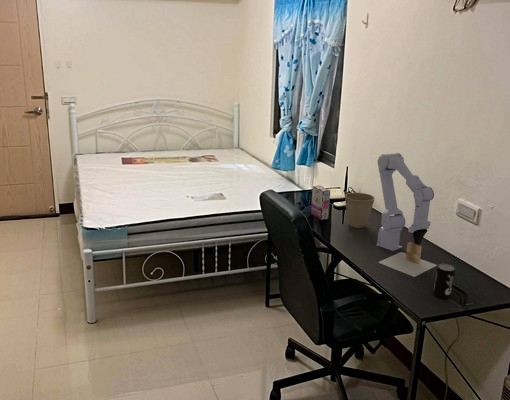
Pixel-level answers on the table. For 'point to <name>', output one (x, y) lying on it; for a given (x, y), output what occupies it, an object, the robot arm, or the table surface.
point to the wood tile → (413, 252)
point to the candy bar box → (320, 202)
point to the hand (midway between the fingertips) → (417, 244)
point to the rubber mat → (407, 264)
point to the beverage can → (444, 281)
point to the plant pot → (358, 208)
